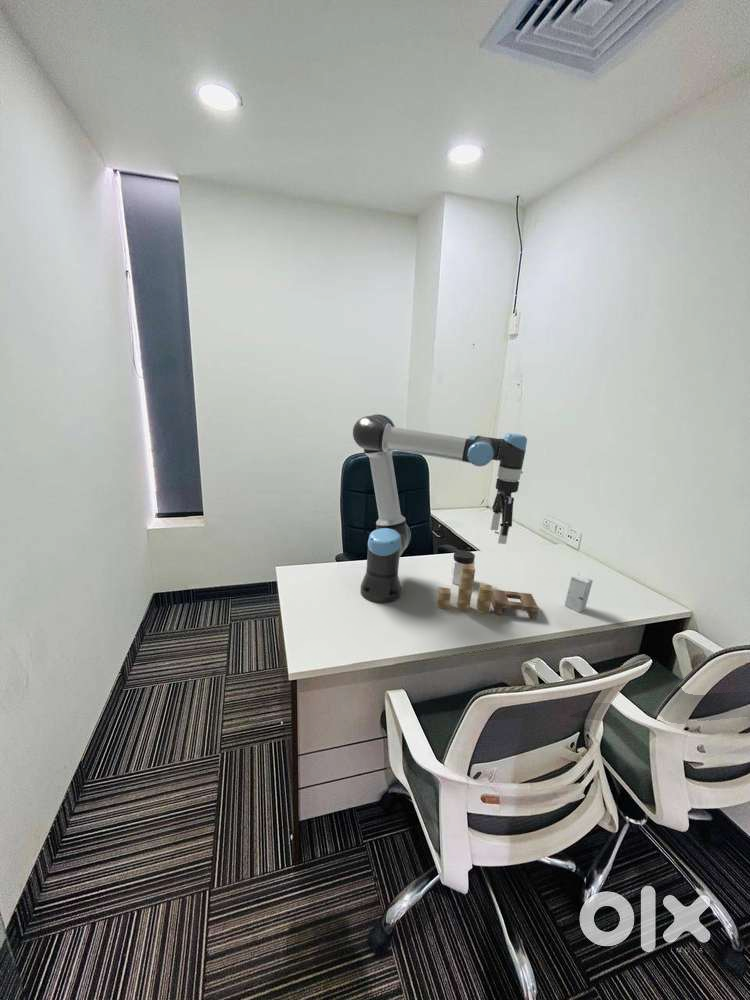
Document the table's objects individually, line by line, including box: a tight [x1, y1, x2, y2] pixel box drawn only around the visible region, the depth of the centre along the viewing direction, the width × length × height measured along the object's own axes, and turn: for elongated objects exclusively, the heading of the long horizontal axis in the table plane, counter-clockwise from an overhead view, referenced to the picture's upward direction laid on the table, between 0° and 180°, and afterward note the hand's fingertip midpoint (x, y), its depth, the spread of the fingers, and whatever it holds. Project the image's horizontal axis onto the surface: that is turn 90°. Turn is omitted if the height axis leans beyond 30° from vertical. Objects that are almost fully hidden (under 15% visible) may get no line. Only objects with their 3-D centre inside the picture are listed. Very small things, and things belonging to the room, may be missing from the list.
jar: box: [449, 549, 476, 586], centre depth 166 cm, size 9×8×12 cm
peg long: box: [456, 564, 476, 612], centre depth 145 cm, size 4×4×16 cm
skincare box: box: [564, 573, 593, 613], centre depth 151 cm, size 6×4×12 cm
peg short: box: [436, 587, 452, 610], centre depth 147 cm, size 4×4×6 cm
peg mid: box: [475, 583, 494, 615], centre depth 145 cm, size 4×4×9 cm
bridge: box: [491, 589, 539, 620], centre depth 148 cm, size 14×10×4 cm
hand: (497, 536), depth 149 cm, fingers open, 13 cm apart
